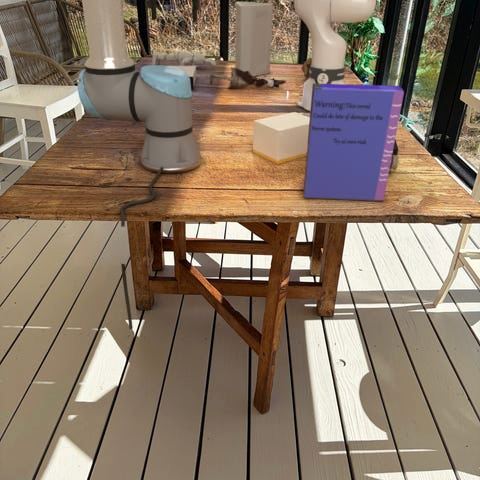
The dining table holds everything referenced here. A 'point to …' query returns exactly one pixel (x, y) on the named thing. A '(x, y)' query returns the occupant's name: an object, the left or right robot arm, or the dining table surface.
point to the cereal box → (351, 141)
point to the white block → (253, 37)
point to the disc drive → (189, 73)
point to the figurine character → (394, 157)
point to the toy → (181, 58)
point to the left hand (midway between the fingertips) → (174, 20)
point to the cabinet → (281, 137)
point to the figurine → (246, 79)
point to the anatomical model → (307, 67)
